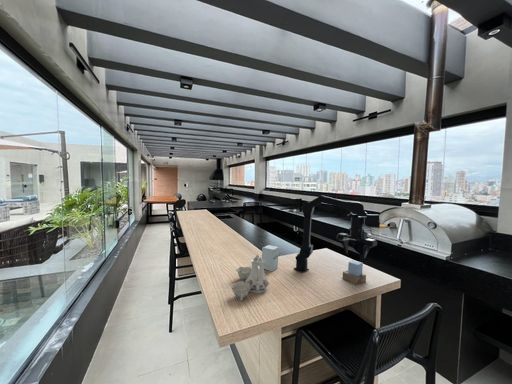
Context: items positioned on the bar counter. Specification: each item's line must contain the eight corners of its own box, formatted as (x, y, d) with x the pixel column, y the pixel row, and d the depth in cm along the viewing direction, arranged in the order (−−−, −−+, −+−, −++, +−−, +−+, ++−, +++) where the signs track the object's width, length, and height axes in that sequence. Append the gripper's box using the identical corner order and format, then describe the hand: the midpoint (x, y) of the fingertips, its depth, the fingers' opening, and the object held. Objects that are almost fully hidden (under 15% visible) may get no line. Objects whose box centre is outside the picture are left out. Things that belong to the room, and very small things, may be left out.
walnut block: (355, 285, 108) (356, 277, 108) (342, 279, 115) (342, 271, 115) (365, 282, 112) (366, 274, 112) (352, 276, 119) (352, 269, 119)
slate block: (357, 276, 109) (357, 264, 109) (348, 273, 113) (348, 262, 113) (362, 274, 112) (362, 262, 112) (352, 271, 116) (353, 260, 116)
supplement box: (272, 272, 120) (273, 249, 120) (260, 269, 124) (261, 247, 124) (278, 268, 127) (279, 246, 126) (267, 265, 130) (267, 244, 130)
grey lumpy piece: (234, 278, 114) (232, 247, 114) (266, 275, 115) (263, 245, 115) (231, 309, 86) (228, 268, 86) (272, 305, 87) (270, 264, 87)
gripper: (382, 227, 110) (380, 257, 111) (347, 222, 125) (346, 248, 125) (372, 230, 103) (371, 262, 104) (337, 223, 118) (335, 252, 118)
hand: (355, 255), depth 113 cm, fingers open, 9 cm apart
